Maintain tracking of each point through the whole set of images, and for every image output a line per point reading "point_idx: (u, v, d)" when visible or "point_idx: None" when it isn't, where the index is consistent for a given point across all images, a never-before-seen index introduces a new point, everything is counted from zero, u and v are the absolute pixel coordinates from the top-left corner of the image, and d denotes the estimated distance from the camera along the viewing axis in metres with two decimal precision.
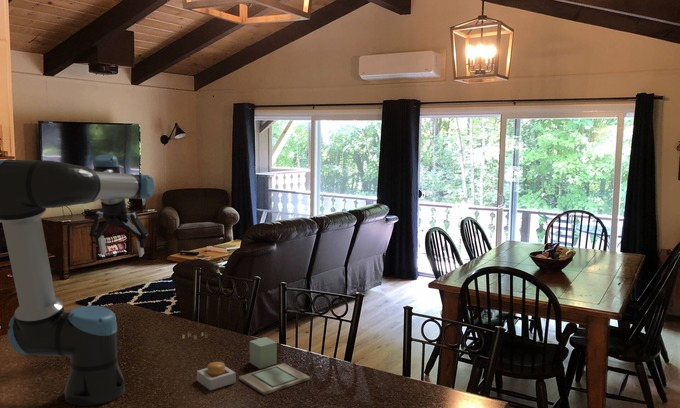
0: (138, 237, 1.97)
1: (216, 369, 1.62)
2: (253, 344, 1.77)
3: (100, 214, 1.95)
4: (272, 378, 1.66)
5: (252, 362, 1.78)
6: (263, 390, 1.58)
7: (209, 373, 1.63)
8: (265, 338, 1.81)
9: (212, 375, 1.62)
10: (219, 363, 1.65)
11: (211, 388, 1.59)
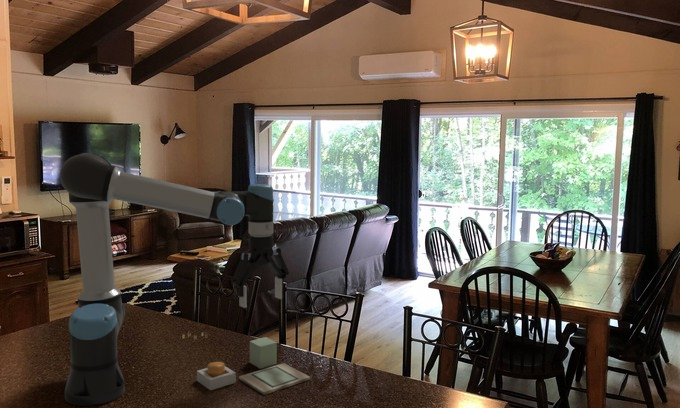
0: None
1: (216, 369, 1.62)
2: (253, 344, 1.77)
3: None
4: (272, 378, 1.66)
5: (252, 362, 1.78)
6: (263, 390, 1.58)
7: (209, 373, 1.63)
8: (265, 338, 1.81)
9: (212, 375, 1.62)
10: (219, 363, 1.65)
11: (211, 388, 1.59)
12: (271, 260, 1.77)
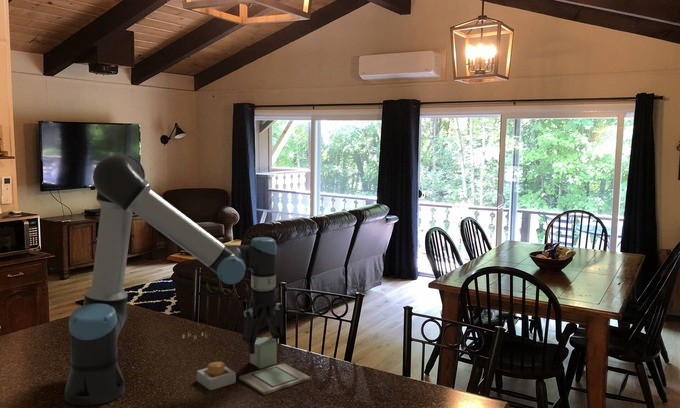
0: None
1: (216, 369, 1.62)
2: None
3: None
4: (272, 378, 1.66)
5: None
6: (263, 390, 1.58)
7: (209, 373, 1.63)
8: (265, 338, 1.81)
9: (212, 375, 1.62)
10: (219, 363, 1.65)
11: (211, 388, 1.59)
12: (271, 315, 1.77)
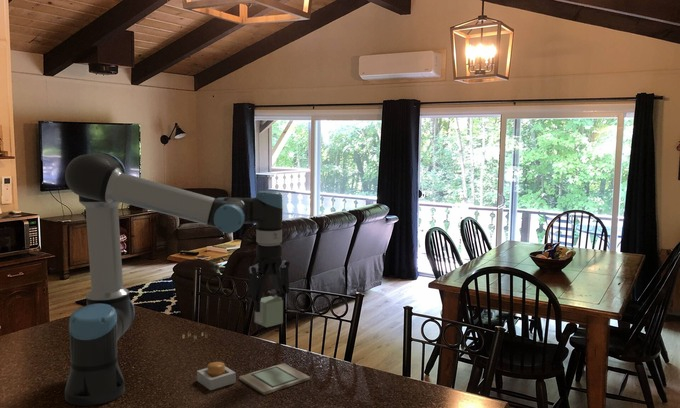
0: None
1: (216, 369, 1.62)
2: None
3: None
4: (272, 378, 1.66)
5: None
6: (263, 390, 1.58)
7: (209, 373, 1.63)
8: (270, 297, 1.74)
9: (212, 375, 1.62)
10: (219, 363, 1.65)
11: (211, 388, 1.59)
12: (277, 272, 1.70)
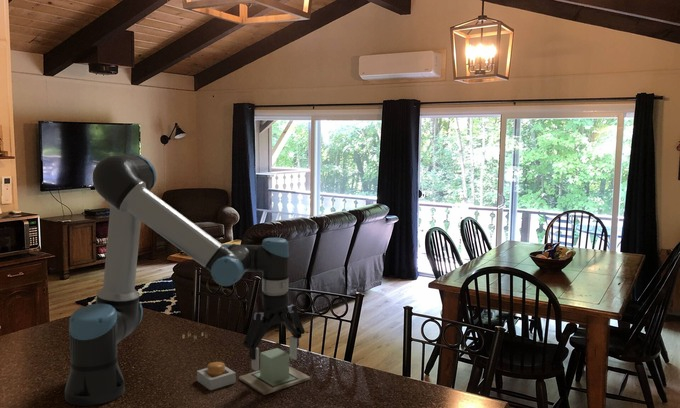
0: None
1: (216, 369, 1.62)
2: (264, 356, 1.65)
3: None
4: None
5: (263, 375, 1.66)
6: (263, 390, 1.58)
7: (209, 373, 1.63)
8: (277, 349, 1.69)
9: (212, 375, 1.62)
10: (219, 363, 1.65)
11: (211, 388, 1.59)
12: (286, 319, 1.66)
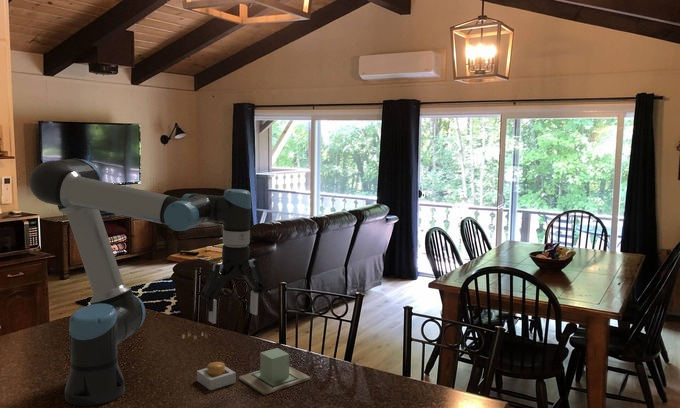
0: None
1: (216, 369, 1.62)
2: (264, 356, 1.65)
3: None
4: None
5: (263, 375, 1.66)
6: (263, 390, 1.58)
7: (209, 373, 1.63)
8: (277, 349, 1.69)
9: (212, 375, 1.62)
10: (219, 363, 1.65)
11: (211, 388, 1.59)
12: (246, 273, 1.62)
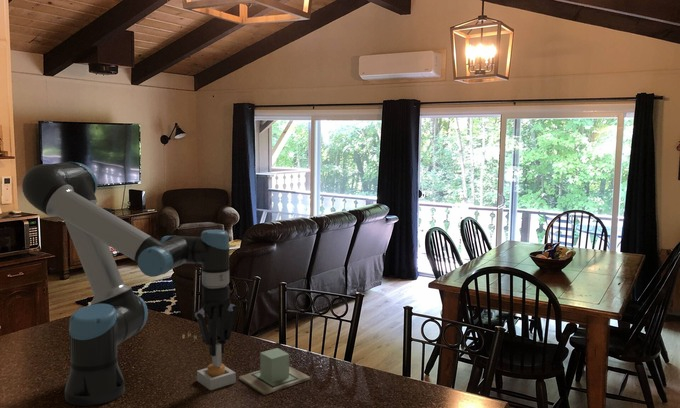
0: None
1: (216, 370, 1.62)
2: (264, 356, 1.65)
3: None
4: None
5: (263, 375, 1.66)
6: (263, 390, 1.58)
7: (209, 374, 1.63)
8: (277, 349, 1.69)
9: (212, 376, 1.62)
10: None
11: (211, 388, 1.59)
12: (223, 315, 1.62)
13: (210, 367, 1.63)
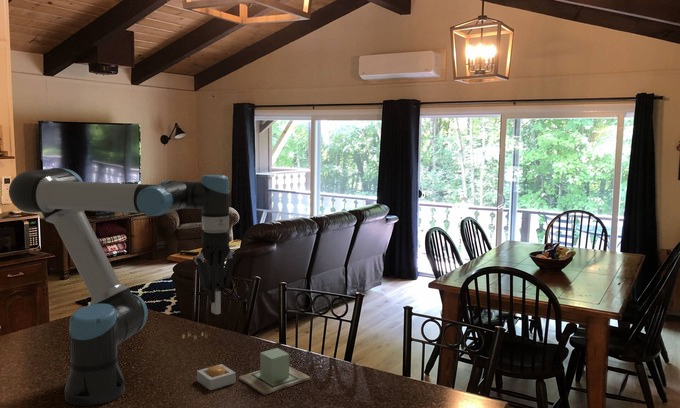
0: None
1: (216, 373, 1.62)
2: (264, 356, 1.65)
3: None
4: None
5: (263, 375, 1.66)
6: (263, 390, 1.58)
7: None
8: (277, 349, 1.69)
9: None
10: (219, 367, 1.65)
11: (211, 388, 1.59)
12: (222, 261, 1.60)
13: (210, 370, 1.63)
